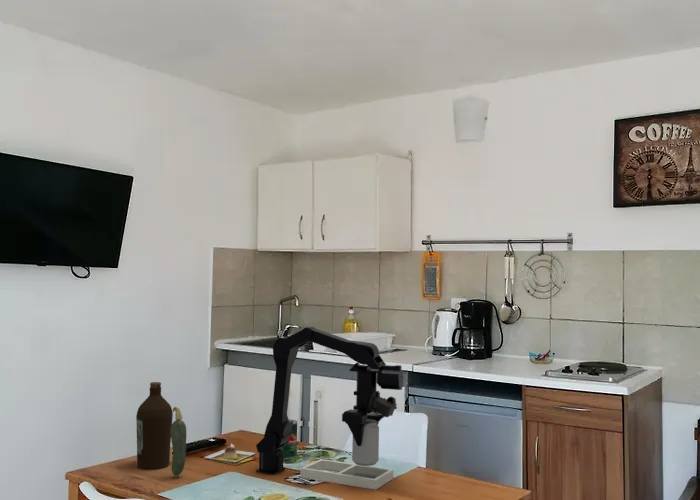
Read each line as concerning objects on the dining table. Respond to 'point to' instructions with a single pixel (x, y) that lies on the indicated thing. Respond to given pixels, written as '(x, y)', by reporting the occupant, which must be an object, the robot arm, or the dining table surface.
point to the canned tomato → (291, 443)
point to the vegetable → (178, 443)
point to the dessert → (229, 454)
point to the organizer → (347, 474)
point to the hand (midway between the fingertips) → (365, 443)
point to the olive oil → (154, 430)
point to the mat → (365, 476)
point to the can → (367, 446)
